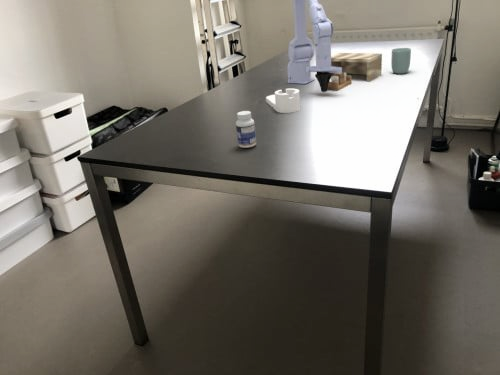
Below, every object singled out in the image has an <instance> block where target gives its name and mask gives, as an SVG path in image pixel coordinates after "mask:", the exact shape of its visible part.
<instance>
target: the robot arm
mask: <svg viewBox="0 0 500 375" xmlns="http://www.w3.org/2000/svg"><path fill="white" fill-rule="evenodd" d="M306 3H307V5H308V7H309V8H308V11H307V13H308V16H309V20H310V23H311V25H312V29H311V34H312V37H313V40H312V39H311V38H309V37H308V36H307V34H308V33H307V18H306V17H307V16H306V15H307V14H306ZM292 6H293V8H292V9H293V26H294V37H293V39H292V40H291V41H289V42H288V50H287V51H288V52H287V53H288V54H287V55H288V59H289V62H288V64H287V78H288V80H287V83H288V84H301V85H302V84H303V85H305V84H309V83H311V82H312V81H315V78H316V80H317V82H318V84H319V87H320V90H321V92H322V93H326V92H328V90H327V88H328V84H329V81H330V80H331V76H332V74H333V73H337V74H340V73H342V68H341V67H333V66H331V56H332V46H331V45H332V43H331V41H332V40H331V38H332V37H333V34H334V25H333V22H332V20H330V19H329V18H328V17H327V15H326V11H325V9H324V7H323V4H321V3H319V0H292ZM313 44H314V45H315V48H314V45H313ZM314 56H315V65H314V66H313V65H311V61H312V59H313V58H314ZM311 73H315V74H314V77H315V78H312V77H311ZM330 82H331V81H330Z"/></svg>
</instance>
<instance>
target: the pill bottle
mask: <svg viewBox="0 0 500 375" xmlns="http://www.w3.org/2000/svg"><path fill="white" fill-rule="evenodd" d="M236 117H237V118H236V119H237V120H236V122H235V128H236V136H237V144H238V146H239V147H240V148H252V147H254V146H255V145H257V137H256V135H257V134H256V126H255V125H256V124H255V120H254V119H253V118H252V112H251V111H250V110H242V111H239V112H236Z"/></svg>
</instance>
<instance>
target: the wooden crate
mask: <svg viewBox="0 0 500 375" xmlns="http://www.w3.org/2000/svg"><path fill="white" fill-rule="evenodd" d="M382 59H383V53H365V52H363V53H361V52H360V53H359V52H356V53H355V52H353V53H352V52H339V53H337V54H336V53H335V54H333V55H331V66H333V67H341V68H342V73H343V72H345V73H346V74H350V75H351V74H353V75H366V82H368V83H370V82H372V81H374V80H375V79H377V78H379V77H381V76H382V71H383V70H382V67H383V62H382V61H383V60H382ZM334 74H335V73H333V74H332V76H334ZM332 76H331V77H332Z"/></svg>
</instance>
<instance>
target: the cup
mask: <svg viewBox="0 0 500 375" xmlns="http://www.w3.org/2000/svg"><path fill="white" fill-rule="evenodd" d="M411 52H412V49H411V48H410V47H397V48H393V49H391V59H390V60H391V65H390V66H391V70H392V72H393V73H394V74H396V75H403V74H406V73H408V71H409V69H410V65H411V55H412V53H411Z"/></svg>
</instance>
